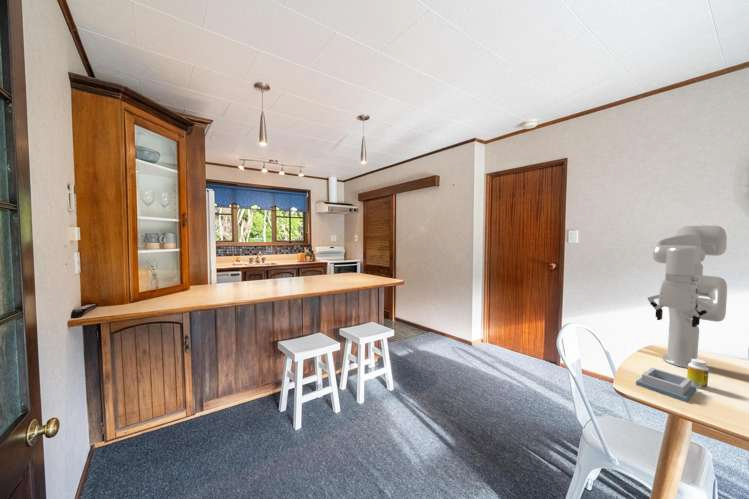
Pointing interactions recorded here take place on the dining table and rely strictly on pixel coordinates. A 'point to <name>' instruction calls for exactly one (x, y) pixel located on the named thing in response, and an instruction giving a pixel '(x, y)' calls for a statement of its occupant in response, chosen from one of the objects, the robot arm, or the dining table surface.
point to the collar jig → (667, 384)
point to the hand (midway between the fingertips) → (676, 322)
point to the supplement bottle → (698, 373)
